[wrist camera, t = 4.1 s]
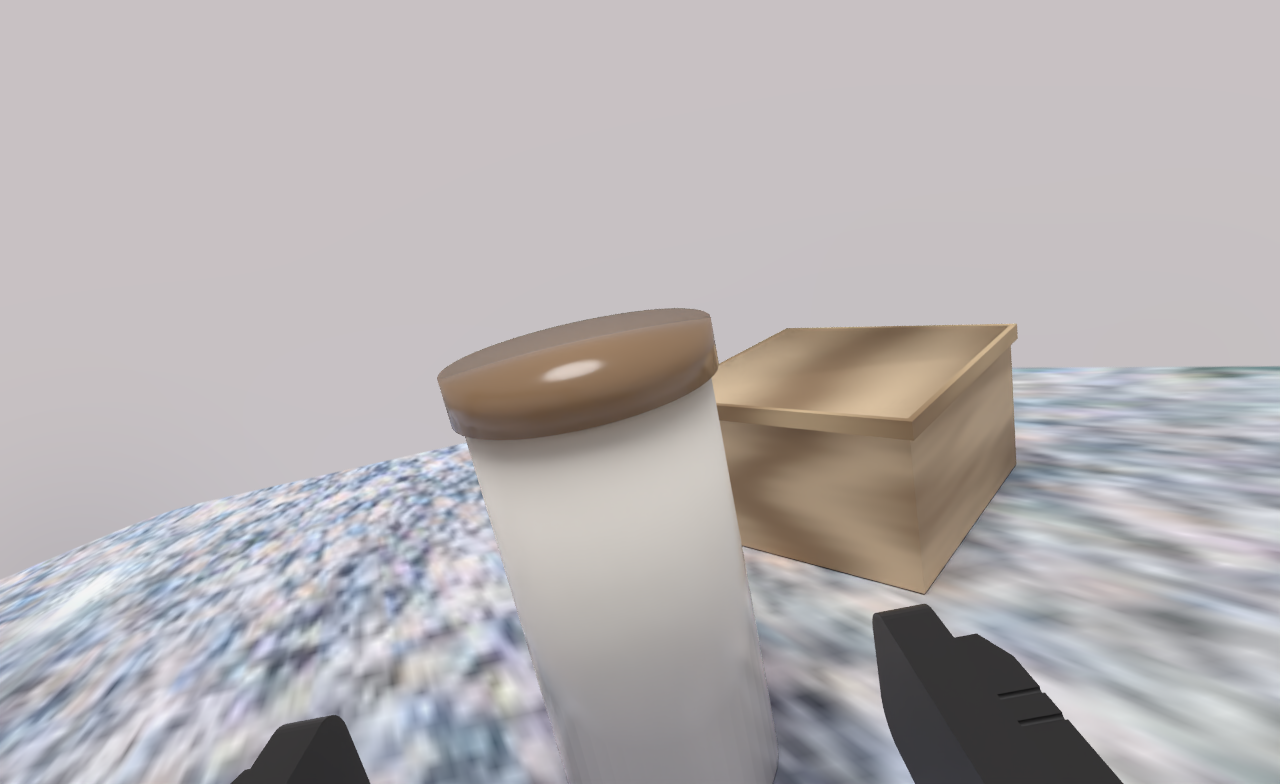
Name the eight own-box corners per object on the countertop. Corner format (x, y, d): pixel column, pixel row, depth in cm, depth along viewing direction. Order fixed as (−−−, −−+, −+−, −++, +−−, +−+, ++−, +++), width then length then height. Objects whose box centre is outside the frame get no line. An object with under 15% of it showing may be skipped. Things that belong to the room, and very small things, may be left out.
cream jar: (518, 782, 17) (387, 381, 14) (662, 648, 21) (585, 313, 18) (688, 921, 13) (556, 395, 10) (829, 723, 16) (765, 303, 14)
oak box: (678, 531, 27) (650, 399, 26) (802, 437, 34) (786, 328, 33) (929, 599, 20) (912, 421, 18) (1022, 462, 27) (1016, 323, 25)
